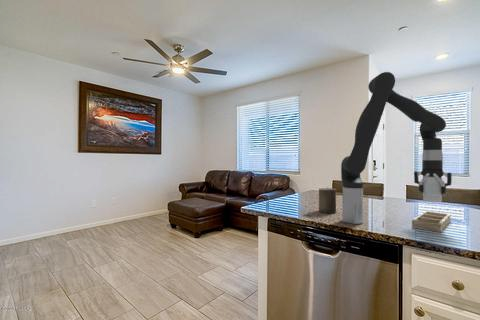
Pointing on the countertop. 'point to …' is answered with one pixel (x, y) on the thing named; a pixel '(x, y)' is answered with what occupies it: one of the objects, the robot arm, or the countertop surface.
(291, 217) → the countertop surface
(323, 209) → the pillar candle
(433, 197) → the skincare box
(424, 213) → the slotted rack
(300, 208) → the countertop surface
